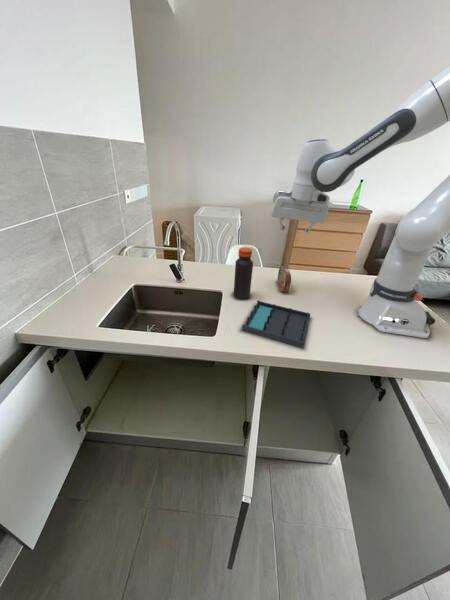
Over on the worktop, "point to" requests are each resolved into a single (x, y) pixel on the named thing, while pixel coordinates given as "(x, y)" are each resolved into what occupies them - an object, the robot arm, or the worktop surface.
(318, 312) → the worktop surface
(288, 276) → the brown flat piece
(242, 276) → the bottle
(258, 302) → the tray
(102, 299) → the worktop surface
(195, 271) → the worktop surface
